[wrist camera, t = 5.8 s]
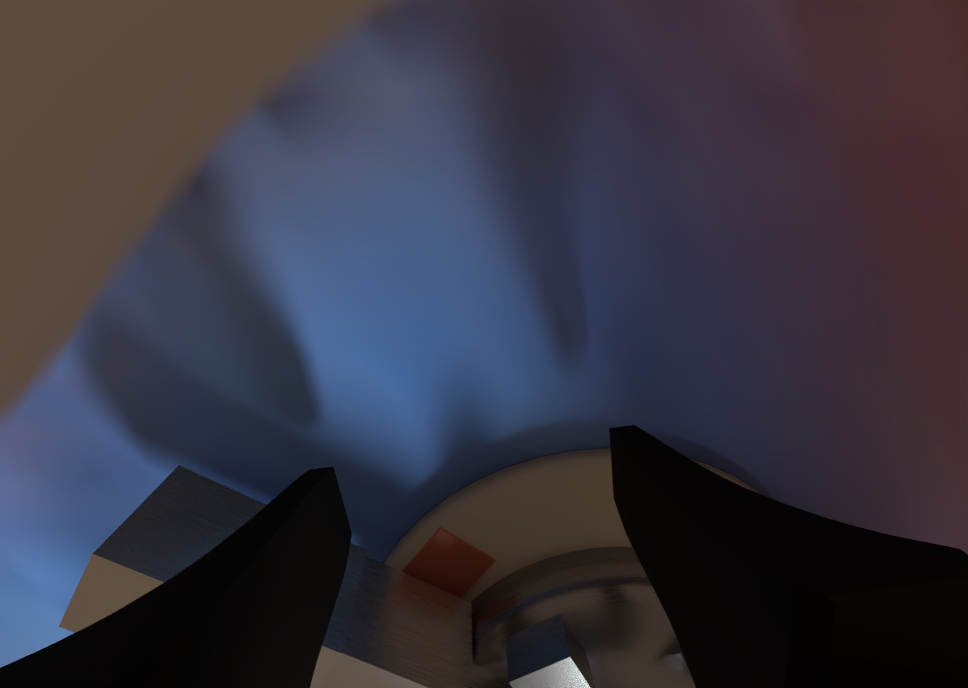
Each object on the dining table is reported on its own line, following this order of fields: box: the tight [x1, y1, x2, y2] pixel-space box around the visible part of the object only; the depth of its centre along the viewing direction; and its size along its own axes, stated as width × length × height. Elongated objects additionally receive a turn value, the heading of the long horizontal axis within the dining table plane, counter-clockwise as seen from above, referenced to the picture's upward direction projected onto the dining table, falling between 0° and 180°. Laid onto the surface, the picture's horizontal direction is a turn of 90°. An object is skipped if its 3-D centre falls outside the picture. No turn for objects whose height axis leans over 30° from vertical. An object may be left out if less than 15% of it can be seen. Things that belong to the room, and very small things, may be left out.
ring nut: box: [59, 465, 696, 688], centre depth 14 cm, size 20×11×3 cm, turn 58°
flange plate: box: [383, 448, 762, 602], centre depth 17 cm, size 16×16×1 cm
